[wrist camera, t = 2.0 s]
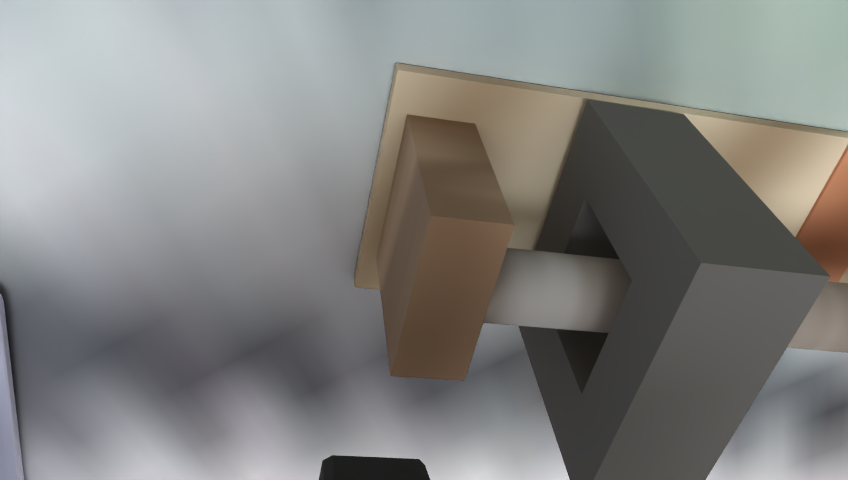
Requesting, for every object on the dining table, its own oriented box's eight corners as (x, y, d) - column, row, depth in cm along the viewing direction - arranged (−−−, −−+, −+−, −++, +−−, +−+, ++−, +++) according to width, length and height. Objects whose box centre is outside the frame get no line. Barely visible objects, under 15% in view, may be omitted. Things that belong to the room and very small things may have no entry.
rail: (1017, 158, 21) (1180, 263, 17) (898, 327, 24) (1011, 448, 20) (396, 62, 17) (421, 169, 13) (353, 278, 20) (364, 413, 16)
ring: (683, 114, 18) (830, 276, 13) (596, 318, 21) (686, 511, 16) (587, 99, 17) (700, 263, 12) (513, 311, 21) (579, 508, 16)
